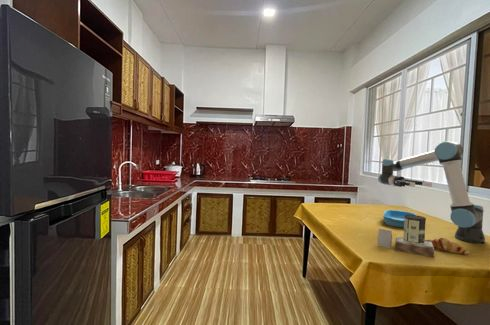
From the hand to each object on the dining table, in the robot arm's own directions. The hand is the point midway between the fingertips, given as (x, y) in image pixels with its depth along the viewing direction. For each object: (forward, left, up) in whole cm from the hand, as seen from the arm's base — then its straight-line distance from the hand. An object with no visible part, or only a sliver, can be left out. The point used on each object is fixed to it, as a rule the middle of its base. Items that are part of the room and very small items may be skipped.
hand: (423, 184), depth 172 cm
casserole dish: (+12, -37, -36) cm, 52 cm away
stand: (+5, +30, -35) cm, 46 cm away
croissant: (-11, +18, -35) cm, 41 cm away
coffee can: (+5, +30, -30) cm, 42 cm away
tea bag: (+19, +32, -35) cm, 51 cm away
